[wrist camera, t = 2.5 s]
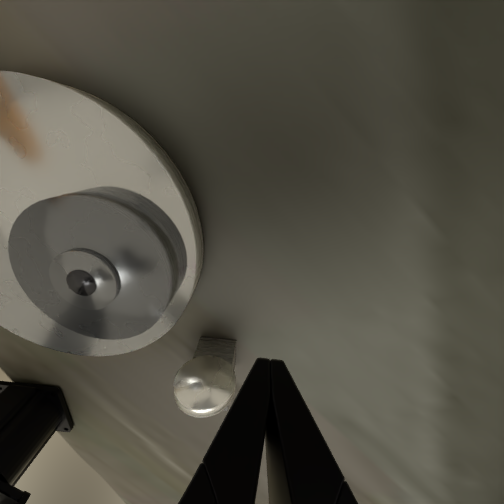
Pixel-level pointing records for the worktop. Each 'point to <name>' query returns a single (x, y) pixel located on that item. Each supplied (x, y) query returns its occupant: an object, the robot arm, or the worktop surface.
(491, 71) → the worktop surface
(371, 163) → the worktop surface
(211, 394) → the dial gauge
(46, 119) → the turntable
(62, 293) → the cover
